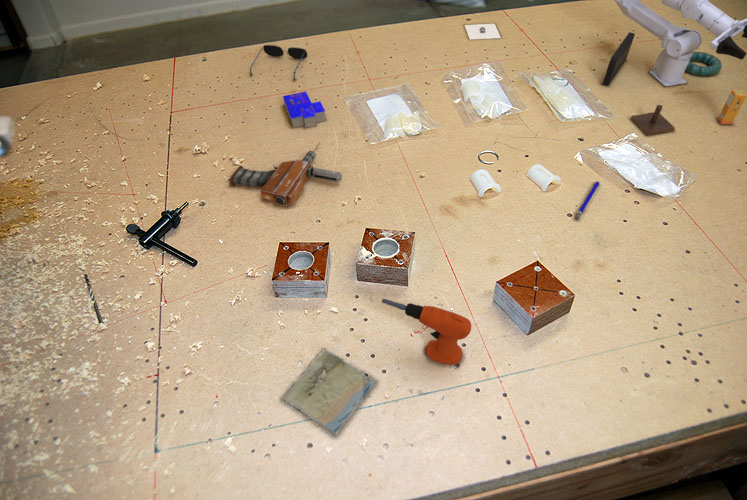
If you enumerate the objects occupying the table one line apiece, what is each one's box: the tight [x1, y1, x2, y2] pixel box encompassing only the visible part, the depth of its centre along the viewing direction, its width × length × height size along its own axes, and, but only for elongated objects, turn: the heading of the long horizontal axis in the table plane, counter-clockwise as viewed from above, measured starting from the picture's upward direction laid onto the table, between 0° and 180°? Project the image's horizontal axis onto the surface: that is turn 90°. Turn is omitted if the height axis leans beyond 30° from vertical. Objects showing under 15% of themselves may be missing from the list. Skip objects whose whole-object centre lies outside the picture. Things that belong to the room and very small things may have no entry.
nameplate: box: [602, 31, 636, 86], centre depth 178 cm, size 21×2×10 cm, turn 146°
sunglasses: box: [249, 44, 308, 81], centre depth 189 cm, size 17×15×5 cm
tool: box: [228, 141, 343, 207], centre depth 149 cm, size 4×27×30 cm
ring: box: [685, 51, 723, 77], centre depth 181 cm, size 13×13×3 cm
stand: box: [630, 104, 676, 137], centre depth 158 cm, size 9×9×7 cm
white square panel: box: [464, 23, 502, 41], centre depth 204 cm, size 12×12×2 cm
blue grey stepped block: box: [282, 90, 326, 129], centre depth 168 cm, size 11×15×5 cm
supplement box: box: [717, 89, 747, 125], centre depth 157 cm, size 3×3×10 cm
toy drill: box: [381, 298, 472, 366], centre depth 105 cm, size 5×19×15 cm, turn 71°
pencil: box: [574, 180, 600, 220], centre depth 139 cm, size 17×1×1 cm, turn 146°
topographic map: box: [282, 347, 377, 437], centre depth 105 cm, size 14×14×2 cm
